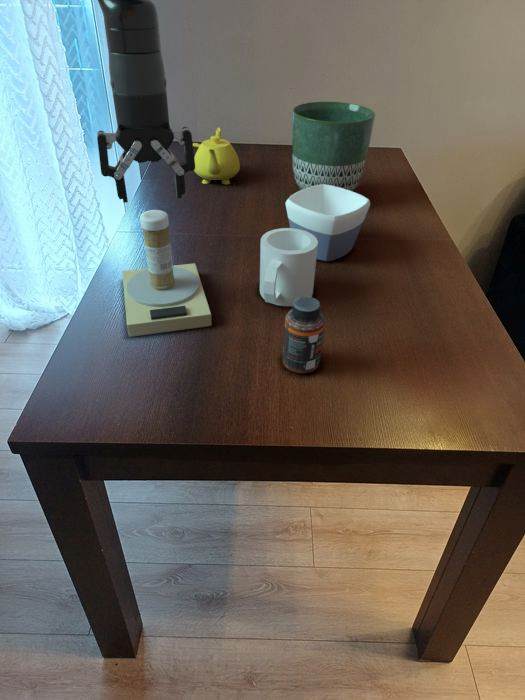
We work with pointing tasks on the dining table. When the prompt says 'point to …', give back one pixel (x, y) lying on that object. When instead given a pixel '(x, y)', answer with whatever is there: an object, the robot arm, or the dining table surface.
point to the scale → (165, 302)
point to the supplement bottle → (303, 335)
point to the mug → (287, 265)
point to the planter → (330, 143)
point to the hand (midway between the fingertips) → (152, 198)
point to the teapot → (216, 159)
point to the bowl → (328, 217)
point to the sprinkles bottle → (158, 248)
